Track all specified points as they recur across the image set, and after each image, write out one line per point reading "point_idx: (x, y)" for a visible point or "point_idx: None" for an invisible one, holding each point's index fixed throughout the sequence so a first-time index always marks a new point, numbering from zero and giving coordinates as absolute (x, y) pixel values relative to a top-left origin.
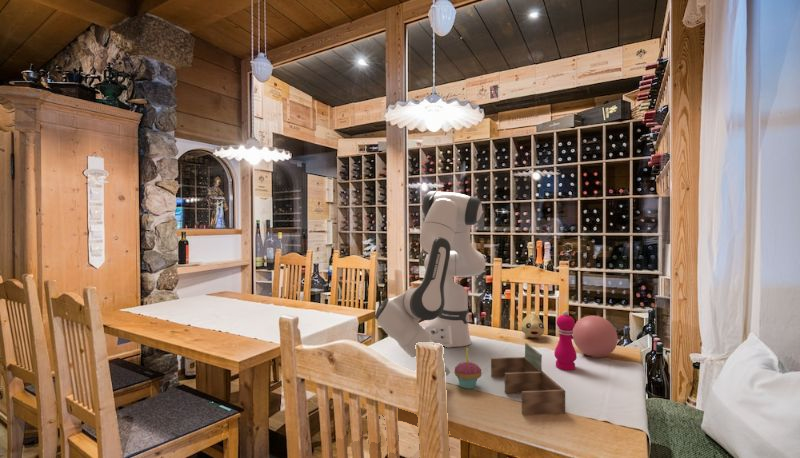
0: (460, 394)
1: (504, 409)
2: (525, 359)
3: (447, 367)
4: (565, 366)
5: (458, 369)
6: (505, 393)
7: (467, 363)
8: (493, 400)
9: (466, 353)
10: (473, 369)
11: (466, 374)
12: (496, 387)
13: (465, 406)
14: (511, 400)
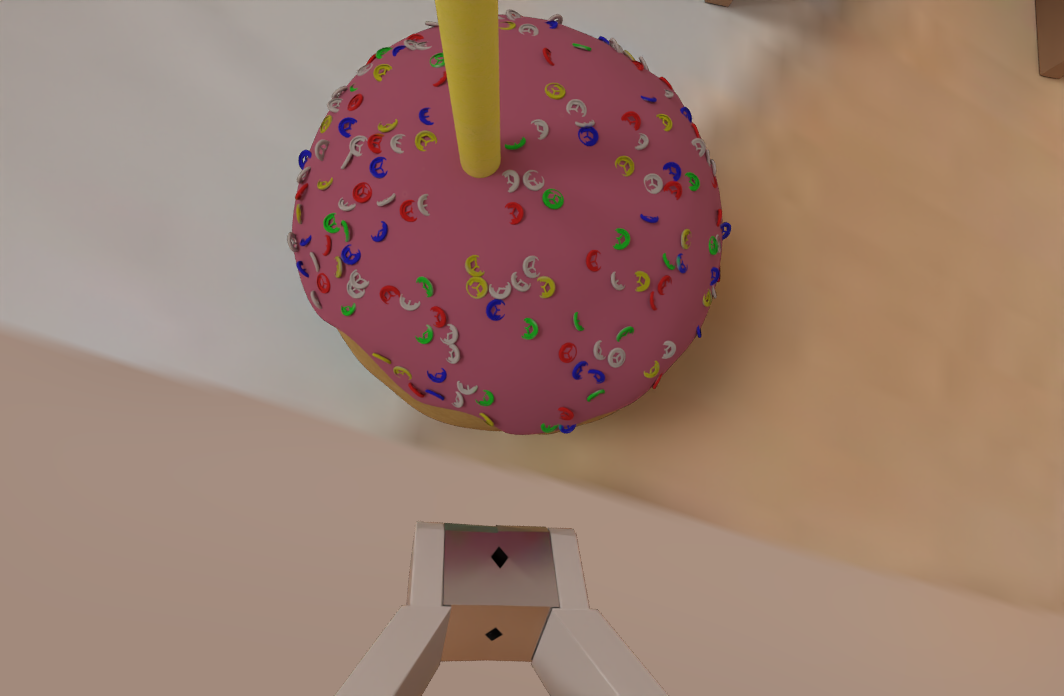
0: (688, 434)
1: (980, 163)
2: None
3: (445, 554)
4: None
5: (599, 390)
6: (727, 5)
7: (547, 180)
8: (834, 174)
9: (485, 68)
10: (694, 165)
11: (708, 309)
12: (583, 12)
13: (919, 466)
14: (846, 29)
